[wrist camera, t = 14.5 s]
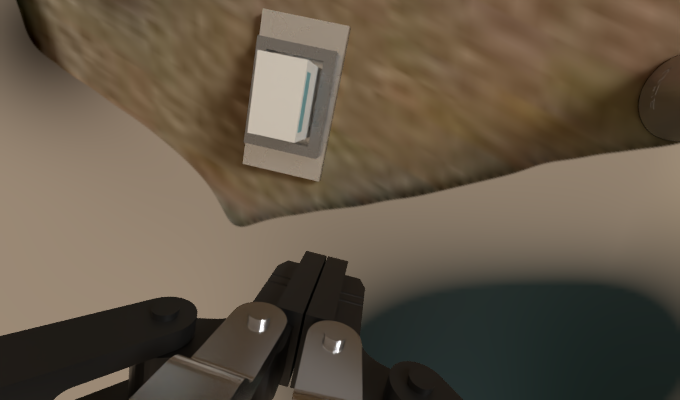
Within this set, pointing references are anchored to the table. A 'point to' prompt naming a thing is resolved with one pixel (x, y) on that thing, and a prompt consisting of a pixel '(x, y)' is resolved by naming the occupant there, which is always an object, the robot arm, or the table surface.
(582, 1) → the table surface
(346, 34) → the grey flat block
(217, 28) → the table surface
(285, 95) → the block
